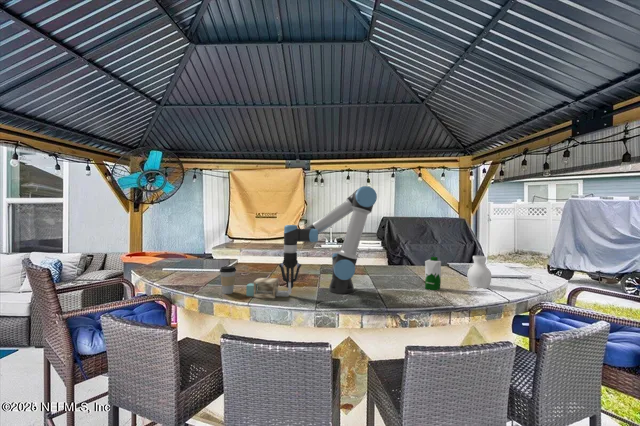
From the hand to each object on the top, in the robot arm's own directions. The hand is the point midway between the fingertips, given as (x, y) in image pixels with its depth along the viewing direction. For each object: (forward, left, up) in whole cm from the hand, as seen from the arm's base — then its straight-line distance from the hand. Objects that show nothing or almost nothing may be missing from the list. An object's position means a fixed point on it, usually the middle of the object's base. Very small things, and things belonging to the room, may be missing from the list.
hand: (289, 293), depth 167 cm
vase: (-120, -37, -2) cm, 126 cm away
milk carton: (-87, -27, -2) cm, 91 cm away
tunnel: (+14, 0, -2) cm, 14 cm away
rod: (+10, -1, -2) cm, 10 cm away
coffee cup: (+38, -3, -2) cm, 38 cm away
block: (+22, 0, -2) cm, 22 cm away
